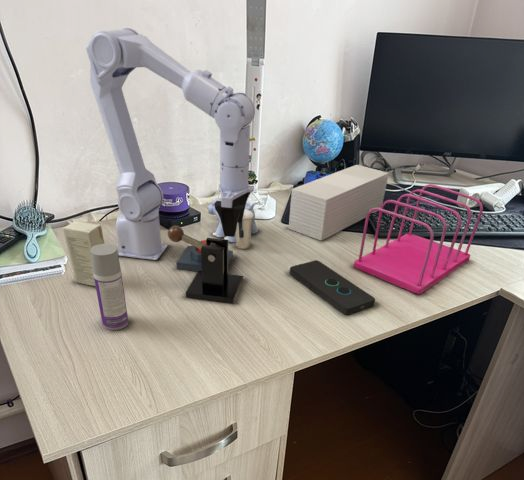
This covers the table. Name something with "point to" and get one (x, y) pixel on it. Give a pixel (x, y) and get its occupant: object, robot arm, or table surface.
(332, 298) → the smart home device
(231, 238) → the hippopotamus toy
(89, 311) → the table surface
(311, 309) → the table surface
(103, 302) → the container
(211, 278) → the switch bracket
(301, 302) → the table surface
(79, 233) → the cosmetic box
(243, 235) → the milkshake
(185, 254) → the button box
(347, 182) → the stack of papers
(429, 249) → the file sorter
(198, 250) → the button
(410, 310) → the table surface
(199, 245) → the lever
